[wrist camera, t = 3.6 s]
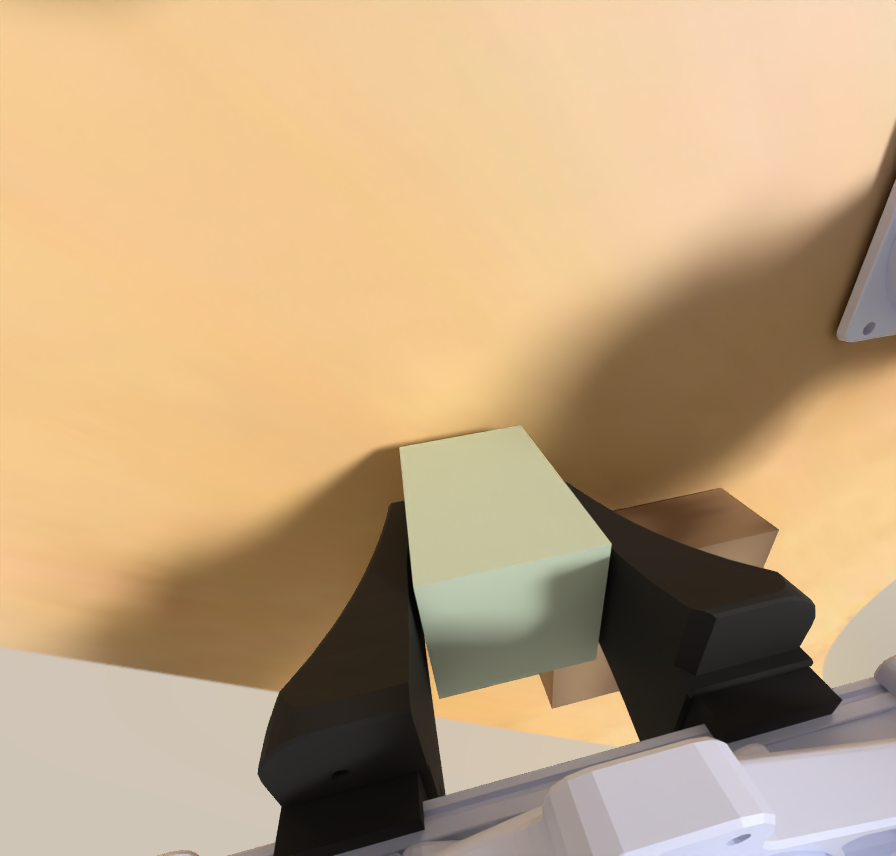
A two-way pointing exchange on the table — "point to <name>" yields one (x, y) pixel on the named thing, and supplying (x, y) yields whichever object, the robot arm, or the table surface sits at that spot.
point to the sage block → (500, 560)
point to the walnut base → (691, 523)
